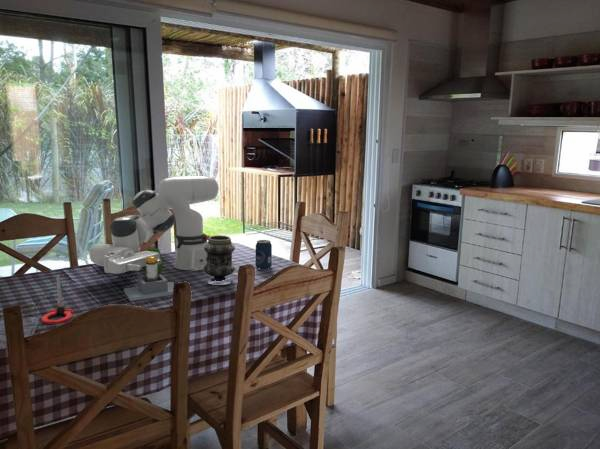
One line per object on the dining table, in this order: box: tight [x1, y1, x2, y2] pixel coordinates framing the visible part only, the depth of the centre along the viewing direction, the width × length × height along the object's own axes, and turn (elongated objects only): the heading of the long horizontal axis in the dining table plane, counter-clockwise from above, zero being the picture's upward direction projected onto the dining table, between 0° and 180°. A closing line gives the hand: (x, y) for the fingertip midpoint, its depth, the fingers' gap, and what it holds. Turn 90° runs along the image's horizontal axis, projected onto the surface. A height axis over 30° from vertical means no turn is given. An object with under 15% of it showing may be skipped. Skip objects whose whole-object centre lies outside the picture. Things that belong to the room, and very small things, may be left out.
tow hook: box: [41, 274, 74, 325], centre depth 150 cm, size 8×13×9 cm
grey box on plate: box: [123, 273, 175, 302], centre depth 176 cm, size 18×11×5 cm, turn 120°
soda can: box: [254, 239, 273, 269], centre depth 210 cm, size 7×7×12 cm
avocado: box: [142, 246, 164, 276], centre depth 195 cm, size 8×8×12 cm
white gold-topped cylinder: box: [146, 256, 158, 282], centre depth 175 cm, size 4×4×12 cm
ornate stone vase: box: [203, 234, 236, 281], centre depth 189 cm, size 12×12×18 cm
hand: (150, 265), depth 175 cm, fingers open, 8 cm apart
